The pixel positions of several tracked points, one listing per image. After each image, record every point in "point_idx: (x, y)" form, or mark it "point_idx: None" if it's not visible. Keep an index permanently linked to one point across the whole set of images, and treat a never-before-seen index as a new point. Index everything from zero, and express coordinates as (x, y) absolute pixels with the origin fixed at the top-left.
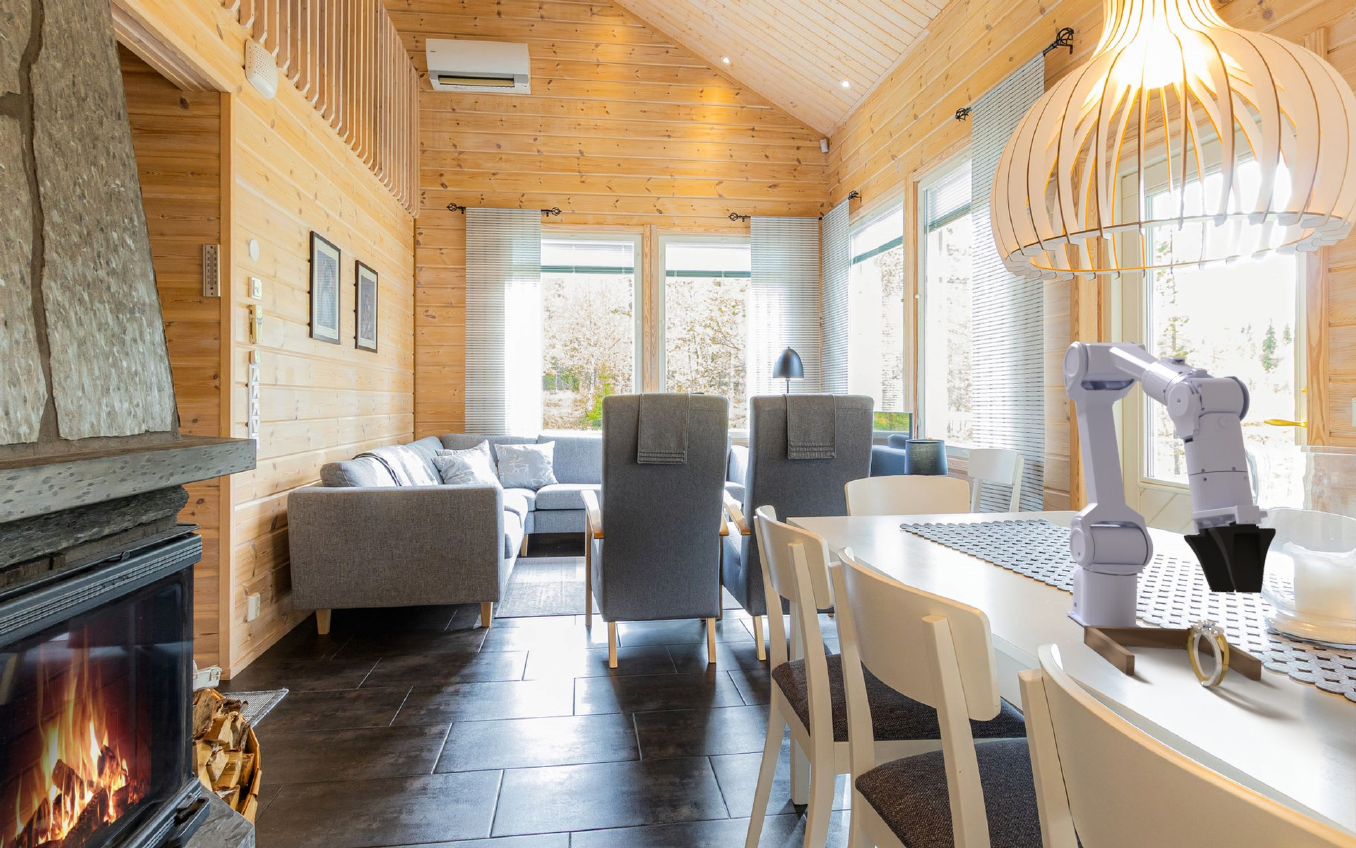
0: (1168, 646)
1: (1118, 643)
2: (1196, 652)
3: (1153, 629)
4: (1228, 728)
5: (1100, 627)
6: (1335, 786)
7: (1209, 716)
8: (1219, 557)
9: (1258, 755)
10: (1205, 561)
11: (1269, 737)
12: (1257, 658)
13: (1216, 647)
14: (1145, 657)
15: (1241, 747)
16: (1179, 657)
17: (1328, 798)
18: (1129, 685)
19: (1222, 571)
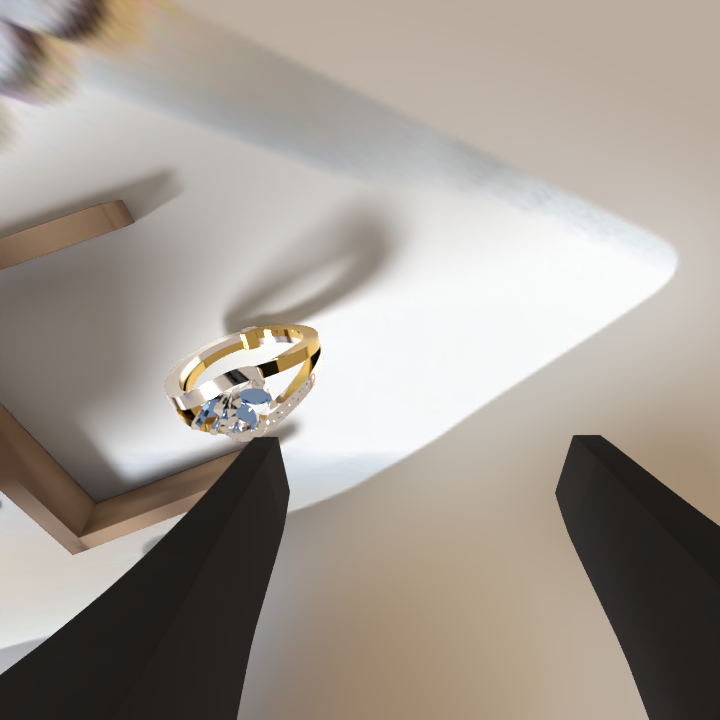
0: None
1: (58, 472)
2: (186, 371)
3: None
4: (460, 331)
5: (63, 530)
6: (624, 234)
7: (418, 350)
8: (215, 648)
9: (547, 310)
10: (243, 653)
11: (478, 277)
12: (81, 211)
13: (312, 374)
14: (113, 423)
15: (525, 326)
16: (48, 358)
17: (654, 256)
18: (322, 448)
19: (251, 551)
